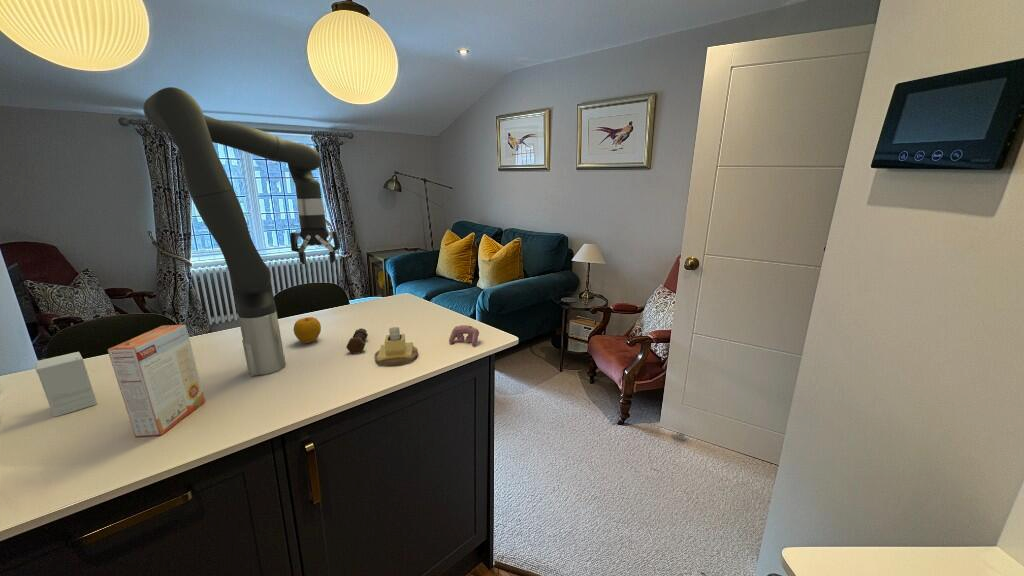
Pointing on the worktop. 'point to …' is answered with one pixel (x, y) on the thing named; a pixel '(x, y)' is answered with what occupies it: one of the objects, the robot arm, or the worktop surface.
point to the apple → (307, 329)
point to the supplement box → (66, 383)
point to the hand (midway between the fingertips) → (318, 263)
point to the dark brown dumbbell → (357, 341)
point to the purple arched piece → (464, 329)
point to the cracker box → (157, 379)
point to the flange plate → (395, 349)
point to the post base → (395, 362)
